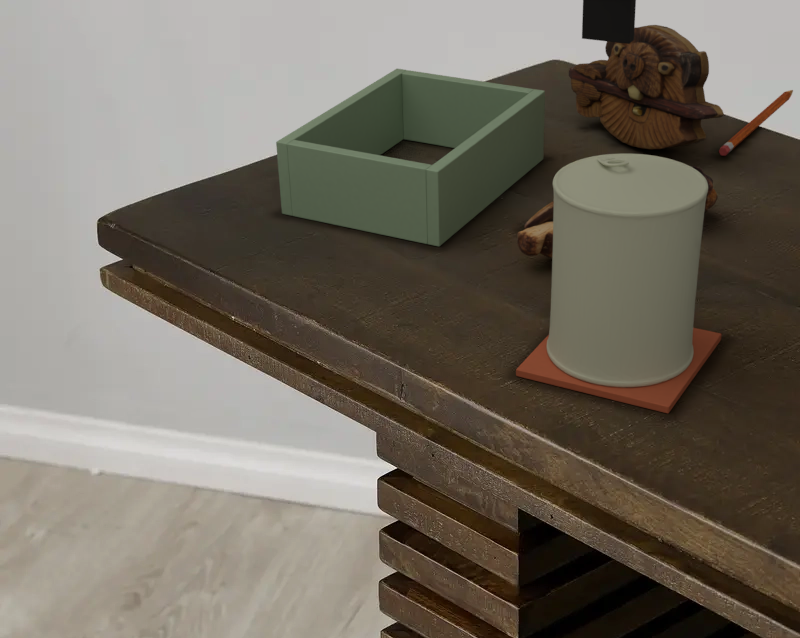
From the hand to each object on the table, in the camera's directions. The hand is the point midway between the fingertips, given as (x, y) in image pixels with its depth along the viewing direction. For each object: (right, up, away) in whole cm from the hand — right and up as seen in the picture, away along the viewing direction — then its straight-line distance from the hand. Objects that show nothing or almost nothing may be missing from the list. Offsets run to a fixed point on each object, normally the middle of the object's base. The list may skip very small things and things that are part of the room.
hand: (648, 6), depth 80 cm
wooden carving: (+6, -1, +39) cm, 39 cm away
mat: (0, -20, +8) cm, 22 cm away
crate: (-13, -5, +33) cm, 36 cm away
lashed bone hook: (+1, -10, +24) cm, 26 cm away
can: (0, -20, +8) cm, 21 cm away
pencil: (+17, +2, +42) cm, 46 cm away
